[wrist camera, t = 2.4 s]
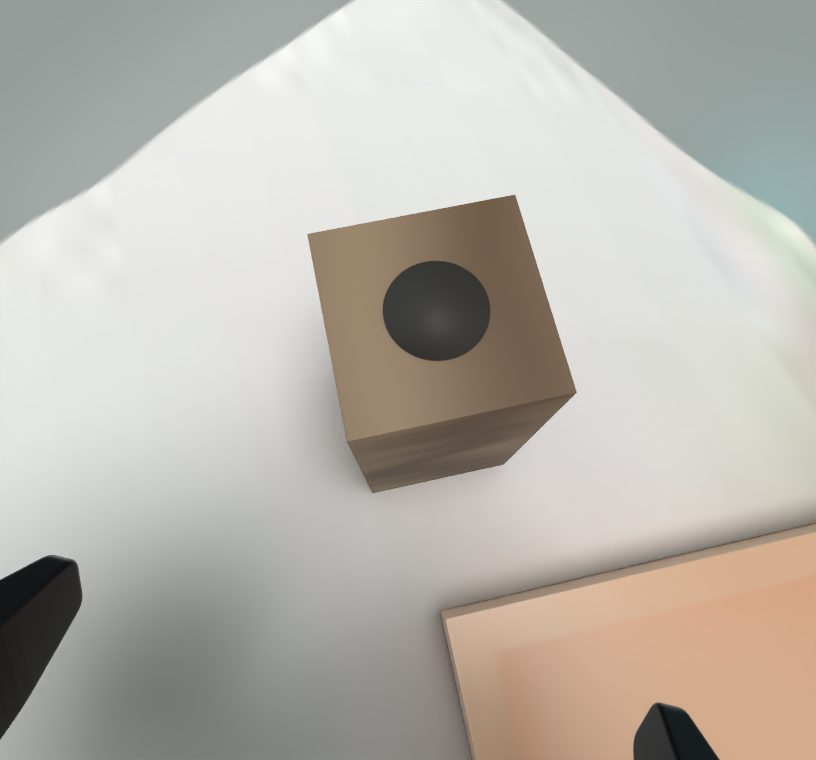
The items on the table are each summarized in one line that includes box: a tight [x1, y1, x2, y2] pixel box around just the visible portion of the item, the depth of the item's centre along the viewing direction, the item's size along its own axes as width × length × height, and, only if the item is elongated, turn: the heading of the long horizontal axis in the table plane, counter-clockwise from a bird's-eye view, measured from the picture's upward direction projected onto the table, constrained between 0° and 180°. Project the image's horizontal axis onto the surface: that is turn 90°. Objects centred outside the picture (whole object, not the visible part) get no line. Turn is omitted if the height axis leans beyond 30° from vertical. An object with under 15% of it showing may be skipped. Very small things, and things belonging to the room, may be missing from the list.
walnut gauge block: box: [308, 195, 577, 493], centre depth 18 cm, size 5×5×10 cm
